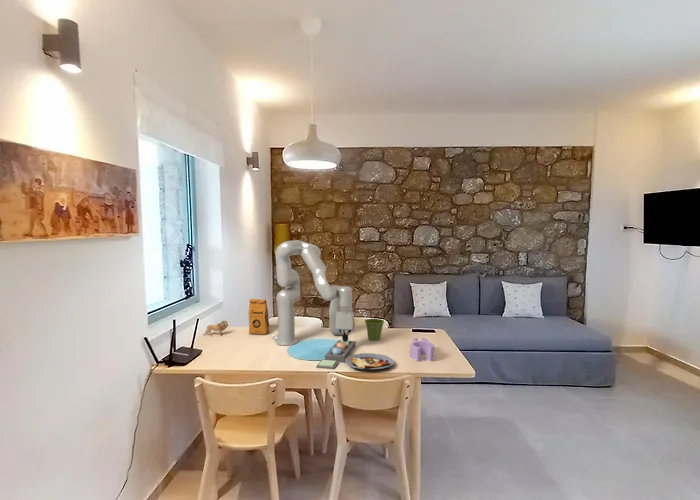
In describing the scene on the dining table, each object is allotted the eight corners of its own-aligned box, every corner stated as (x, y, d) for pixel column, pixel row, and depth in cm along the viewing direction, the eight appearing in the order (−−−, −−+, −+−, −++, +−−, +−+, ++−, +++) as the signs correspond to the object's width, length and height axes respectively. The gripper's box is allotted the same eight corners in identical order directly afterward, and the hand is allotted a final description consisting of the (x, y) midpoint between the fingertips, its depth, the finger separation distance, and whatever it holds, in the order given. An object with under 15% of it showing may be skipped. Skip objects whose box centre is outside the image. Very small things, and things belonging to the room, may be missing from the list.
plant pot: (381, 342, 255) (381, 323, 254) (361, 340, 259) (362, 322, 258) (386, 337, 266) (386, 319, 266) (368, 335, 270) (368, 317, 270)
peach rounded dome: (335, 351, 234) (335, 344, 233) (337, 348, 238) (337, 341, 238) (344, 352, 233) (344, 344, 232) (346, 349, 237) (346, 342, 237)
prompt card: (316, 367, 213) (316, 364, 213) (321, 361, 222) (321, 358, 222) (334, 369, 211) (334, 366, 211) (338, 363, 220) (338, 360, 220)
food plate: (401, 369, 210) (401, 362, 210) (356, 376, 202) (356, 368, 202) (380, 355, 234) (380, 349, 234) (339, 360, 226) (339, 354, 226)
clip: (408, 349, 243) (408, 337, 242) (430, 350, 242) (430, 337, 242) (411, 361, 223) (411, 348, 222) (436, 362, 222) (436, 348, 222)
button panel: (325, 360, 223) (325, 355, 223) (338, 345, 250) (338, 340, 250) (344, 362, 221) (344, 356, 221) (355, 346, 248) (355, 341, 248)
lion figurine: (228, 333, 275) (227, 319, 274) (227, 335, 270) (227, 321, 269) (203, 334, 272) (203, 320, 271) (202, 337, 266) (202, 322, 266)
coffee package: (265, 336, 269) (264, 301, 267) (246, 335, 272) (246, 300, 270) (271, 332, 279) (271, 298, 277) (253, 330, 281) (252, 297, 280)
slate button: (331, 356, 225) (331, 349, 225) (333, 354, 230) (333, 346, 229) (340, 357, 224) (340, 349, 224) (342, 354, 229) (342, 347, 228)
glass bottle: (348, 334, 273) (348, 290, 270) (337, 338, 265) (337, 292, 263) (337, 331, 279) (337, 288, 277) (326, 335, 272) (326, 290, 269)
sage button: (339, 349, 243) (339, 341, 242) (341, 346, 247) (341, 339, 247) (348, 349, 241) (348, 342, 241) (350, 347, 246) (350, 340, 246)
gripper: (330, 309, 241) (330, 342, 242) (356, 310, 237) (356, 343, 239) (333, 306, 248) (334, 338, 249) (359, 308, 245) (359, 340, 246)
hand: (345, 341), depth 244 cm, fingers closed
